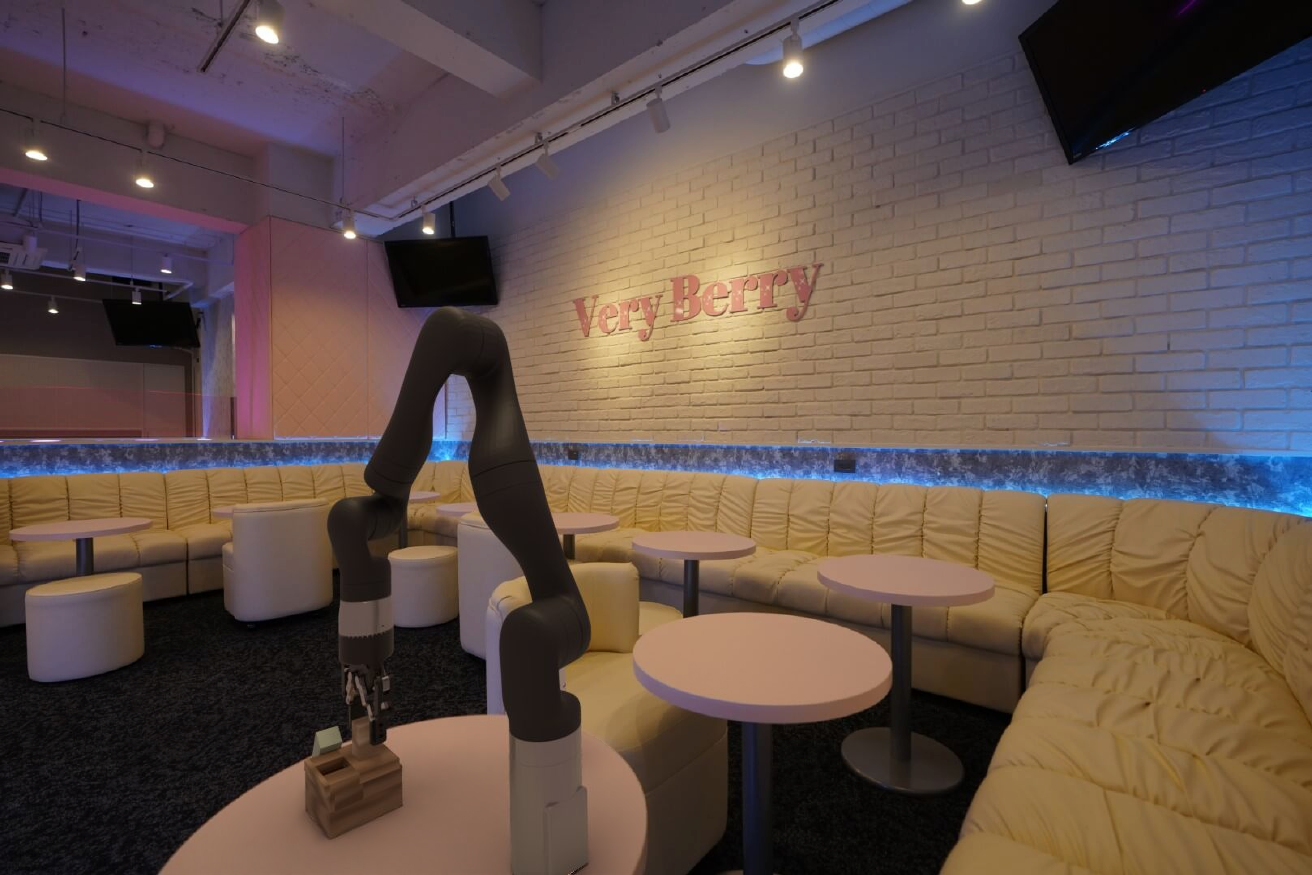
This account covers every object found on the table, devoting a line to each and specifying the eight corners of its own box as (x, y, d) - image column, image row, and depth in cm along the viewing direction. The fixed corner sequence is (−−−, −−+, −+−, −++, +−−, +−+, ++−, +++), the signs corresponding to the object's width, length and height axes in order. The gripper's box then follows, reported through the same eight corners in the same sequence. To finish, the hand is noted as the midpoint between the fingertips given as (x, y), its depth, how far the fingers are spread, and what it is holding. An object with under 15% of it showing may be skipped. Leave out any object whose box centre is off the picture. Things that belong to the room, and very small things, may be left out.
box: (402, 805, 87) (402, 764, 87) (330, 839, 80) (329, 795, 80) (374, 780, 94) (374, 743, 94) (305, 809, 86) (305, 769, 87)
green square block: (342, 741, 89) (333, 784, 93) (337, 725, 91) (329, 768, 95) (320, 748, 87) (312, 792, 91) (316, 732, 89) (308, 775, 93)
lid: (399, 768, 86) (399, 724, 86) (325, 797, 79) (324, 749, 79) (374, 744, 93) (374, 704, 93) (304, 770, 86) (303, 726, 86)
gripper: (412, 629, 87) (413, 740, 86) (372, 612, 96) (373, 712, 96) (359, 642, 81) (360, 761, 81) (322, 623, 91) (323, 729, 90)
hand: (367, 734), depth 88 cm, fingers open, 7 cm apart
